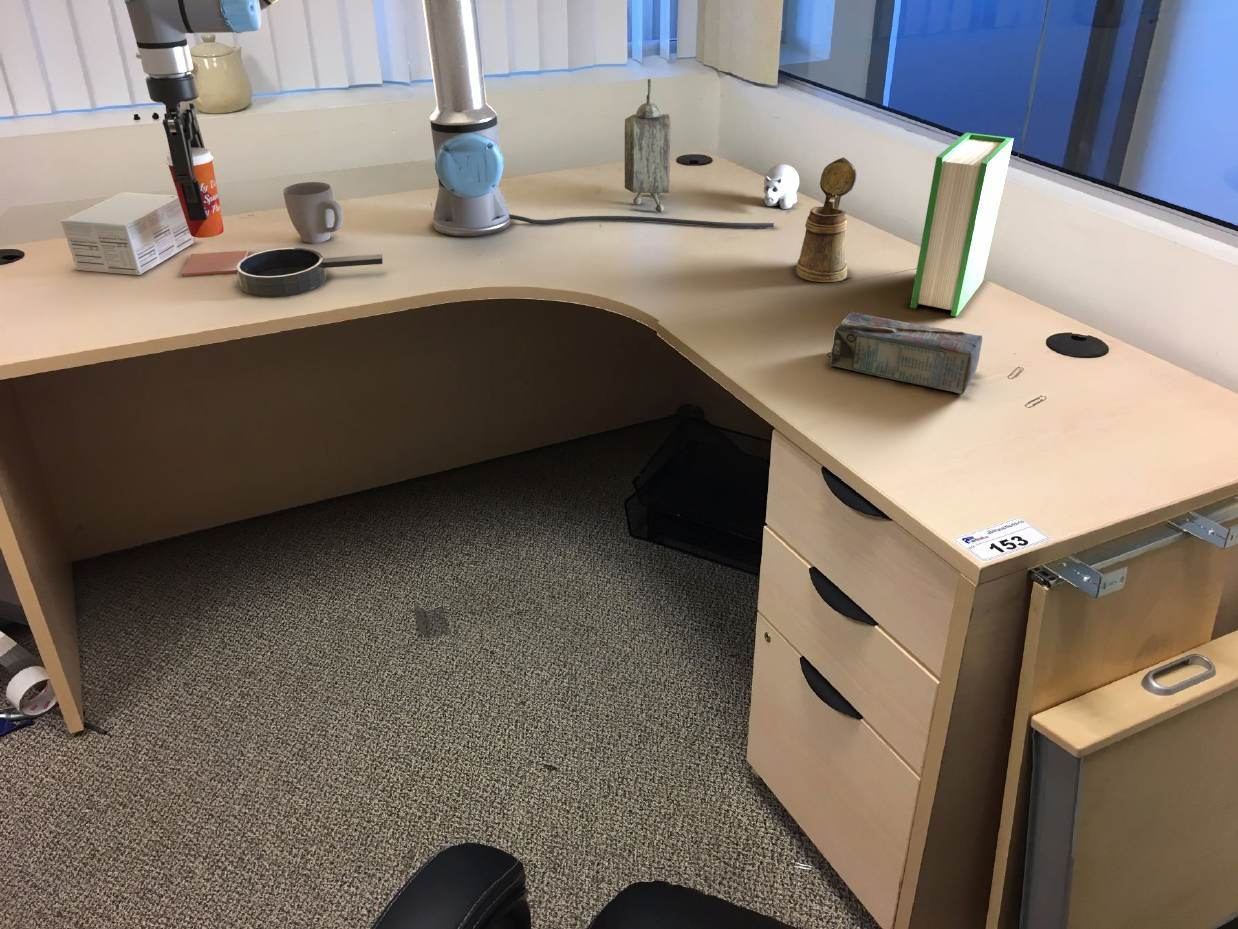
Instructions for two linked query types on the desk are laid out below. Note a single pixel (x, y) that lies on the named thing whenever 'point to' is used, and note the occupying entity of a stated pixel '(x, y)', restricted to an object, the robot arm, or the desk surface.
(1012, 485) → the desk surface
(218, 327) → the desk surface
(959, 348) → the beverage carton
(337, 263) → the pan handle
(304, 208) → the mug
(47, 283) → the desk surface
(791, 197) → the chubby cartoon animal
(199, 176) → the paper cup
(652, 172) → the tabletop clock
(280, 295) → the pan
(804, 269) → the wooden mug
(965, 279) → the hardback book
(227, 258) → the coaster
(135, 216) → the supplement box
